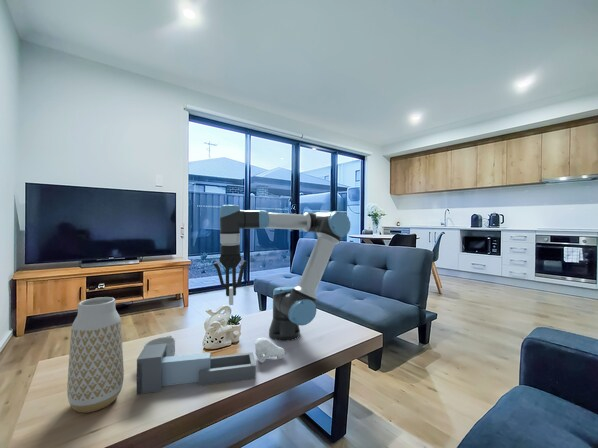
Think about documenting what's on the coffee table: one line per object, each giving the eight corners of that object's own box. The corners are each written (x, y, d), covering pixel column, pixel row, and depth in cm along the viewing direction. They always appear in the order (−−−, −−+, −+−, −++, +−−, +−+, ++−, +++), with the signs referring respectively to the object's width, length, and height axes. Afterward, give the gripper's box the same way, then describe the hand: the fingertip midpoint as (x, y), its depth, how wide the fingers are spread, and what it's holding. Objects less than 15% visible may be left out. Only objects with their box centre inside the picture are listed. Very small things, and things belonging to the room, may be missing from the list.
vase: (105, 384, 93) (105, 293, 92) (133, 394, 87) (134, 298, 87) (56, 409, 80) (56, 304, 80) (86, 424, 75) (86, 311, 74)
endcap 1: (166, 374, 99) (167, 343, 99) (160, 391, 89) (161, 356, 89) (145, 377, 97) (145, 345, 97) (136, 394, 87) (136, 359, 87)
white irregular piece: (255, 334, 113) (285, 336, 115) (253, 355, 113) (282, 356, 115) (255, 341, 107) (286, 343, 109) (253, 363, 107) (284, 364, 109)
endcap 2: (252, 363, 107) (252, 352, 107) (255, 378, 98) (255, 365, 97) (200, 370, 102) (200, 358, 102) (198, 385, 92) (198, 372, 92)
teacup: (162, 371, 101) (162, 350, 101) (136, 368, 103) (137, 346, 103) (185, 353, 114) (185, 334, 114) (162, 350, 116) (162, 332, 116)
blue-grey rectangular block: (210, 374, 100) (210, 352, 100) (209, 380, 96) (209, 358, 96) (149, 381, 95) (149, 358, 95) (145, 388, 91) (145, 364, 91)
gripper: (245, 242, 114) (246, 299, 115) (212, 244, 110) (213, 302, 111) (248, 244, 107) (249, 305, 108) (213, 245, 103) (214, 308, 103)
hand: (231, 303), depth 109 cm, fingers closed
